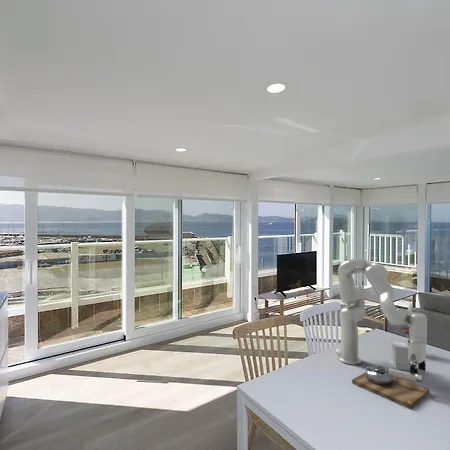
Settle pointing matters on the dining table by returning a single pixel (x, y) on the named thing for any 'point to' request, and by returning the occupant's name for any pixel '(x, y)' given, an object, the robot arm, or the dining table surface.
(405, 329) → the candlestick
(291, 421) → the dining table surface
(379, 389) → the wooden base
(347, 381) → the dining table surface
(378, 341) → the dining table surface
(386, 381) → the faucet lever handle
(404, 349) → the supplement box
